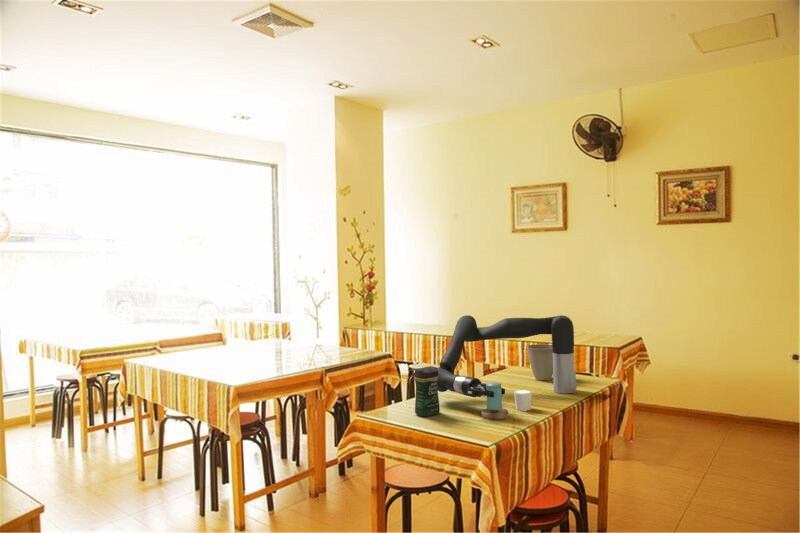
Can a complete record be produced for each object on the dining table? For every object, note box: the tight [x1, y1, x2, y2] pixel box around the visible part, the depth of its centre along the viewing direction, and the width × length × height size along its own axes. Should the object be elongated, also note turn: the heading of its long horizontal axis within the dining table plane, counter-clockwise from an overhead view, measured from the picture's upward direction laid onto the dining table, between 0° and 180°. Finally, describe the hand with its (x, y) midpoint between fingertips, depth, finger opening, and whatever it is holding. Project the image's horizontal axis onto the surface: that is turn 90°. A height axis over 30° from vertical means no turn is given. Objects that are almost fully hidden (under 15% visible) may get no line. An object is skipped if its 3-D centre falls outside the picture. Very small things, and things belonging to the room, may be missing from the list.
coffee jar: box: [413, 365, 441, 417], centre depth 226 cm, size 10×8×19 cm
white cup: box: [513, 389, 532, 412], centre depth 227 cm, size 7×7×7 cm
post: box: [481, 407, 509, 421], centre depth 219 cm, size 10×10×8 cm
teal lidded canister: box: [486, 382, 503, 410], centre depth 219 cm, size 6×6×9 cm
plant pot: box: [526, 343, 553, 381], centre depth 278 cm, size 15×15×16 cm
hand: (498, 393), depth 217 cm, fingers closed on teal lidded canister, 5 cm apart
